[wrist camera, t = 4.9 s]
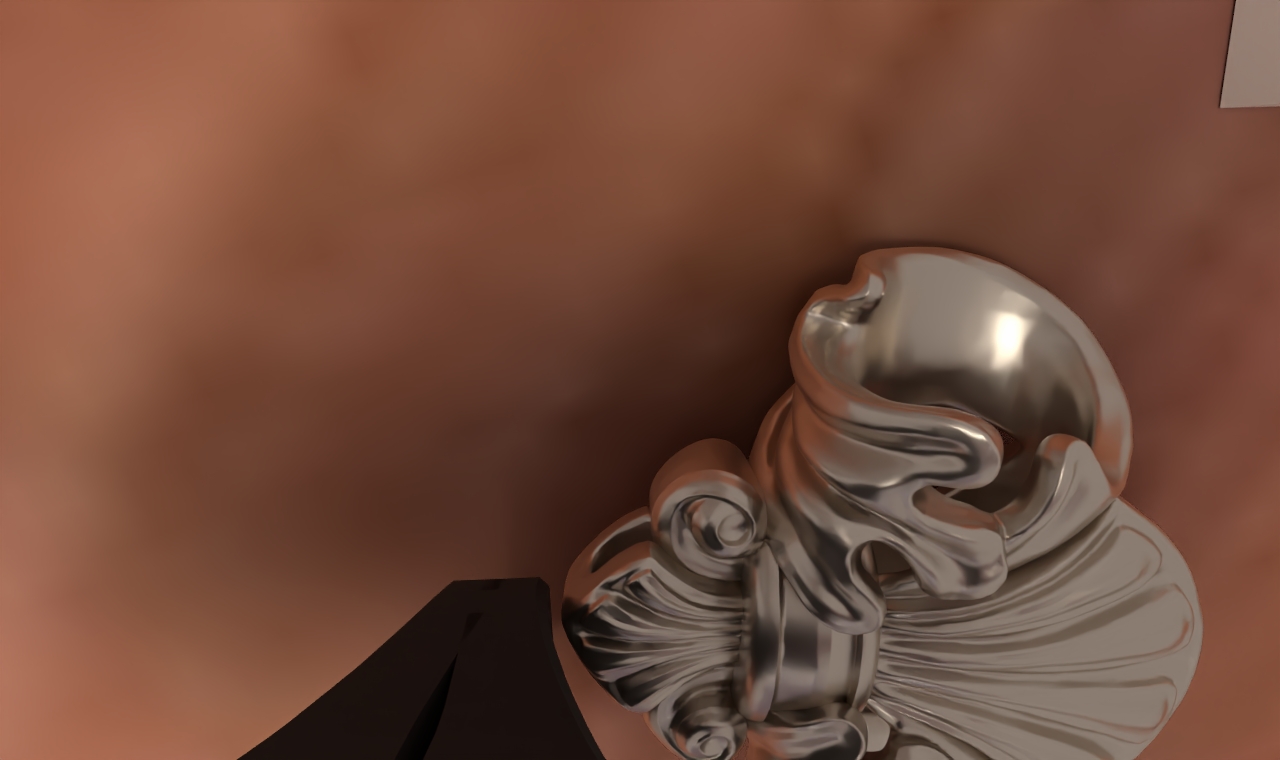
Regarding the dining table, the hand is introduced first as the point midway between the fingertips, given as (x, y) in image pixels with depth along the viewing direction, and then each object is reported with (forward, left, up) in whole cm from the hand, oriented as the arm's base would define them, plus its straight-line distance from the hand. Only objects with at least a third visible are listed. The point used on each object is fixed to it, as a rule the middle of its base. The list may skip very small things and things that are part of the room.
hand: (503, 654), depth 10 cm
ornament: (+1, -4, -2) cm, 5 cm away
